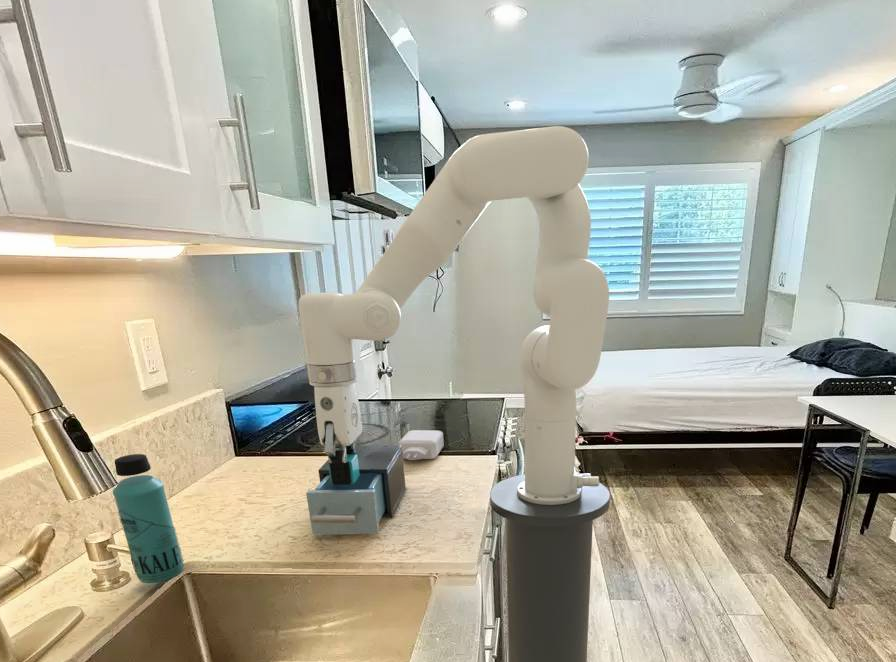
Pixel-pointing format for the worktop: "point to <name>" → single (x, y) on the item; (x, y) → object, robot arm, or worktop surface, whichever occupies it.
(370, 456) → the drawer cabinet
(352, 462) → the teal rounded cube
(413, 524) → the worktop surface
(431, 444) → the charger
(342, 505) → the light blue drawer
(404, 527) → the worktop surface
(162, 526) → the beverage bottle
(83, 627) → the worktop surface
